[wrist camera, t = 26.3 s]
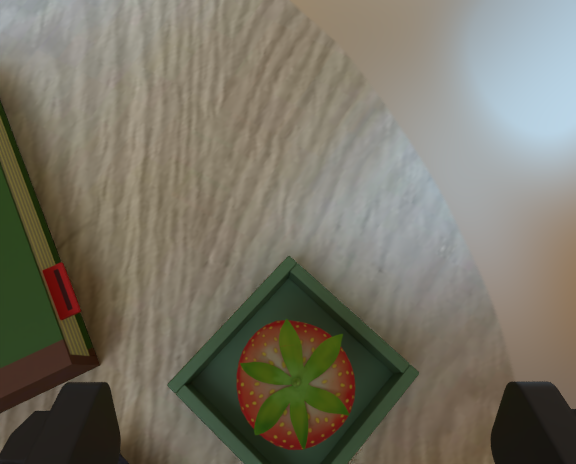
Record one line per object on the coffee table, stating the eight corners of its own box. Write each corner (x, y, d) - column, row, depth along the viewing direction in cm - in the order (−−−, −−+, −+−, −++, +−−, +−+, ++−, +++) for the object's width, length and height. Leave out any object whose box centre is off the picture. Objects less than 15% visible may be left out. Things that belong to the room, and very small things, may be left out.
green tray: (406, 372, 26) (420, 372, 24) (298, 506, 24) (301, 522, 22) (287, 265, 28) (288, 254, 25) (176, 383, 26) (166, 385, 23)
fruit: (361, 387, 25) (400, 395, 18) (284, 456, 24) (290, 496, 17) (295, 307, 26) (304, 282, 19) (219, 370, 25) (196, 370, 18)
